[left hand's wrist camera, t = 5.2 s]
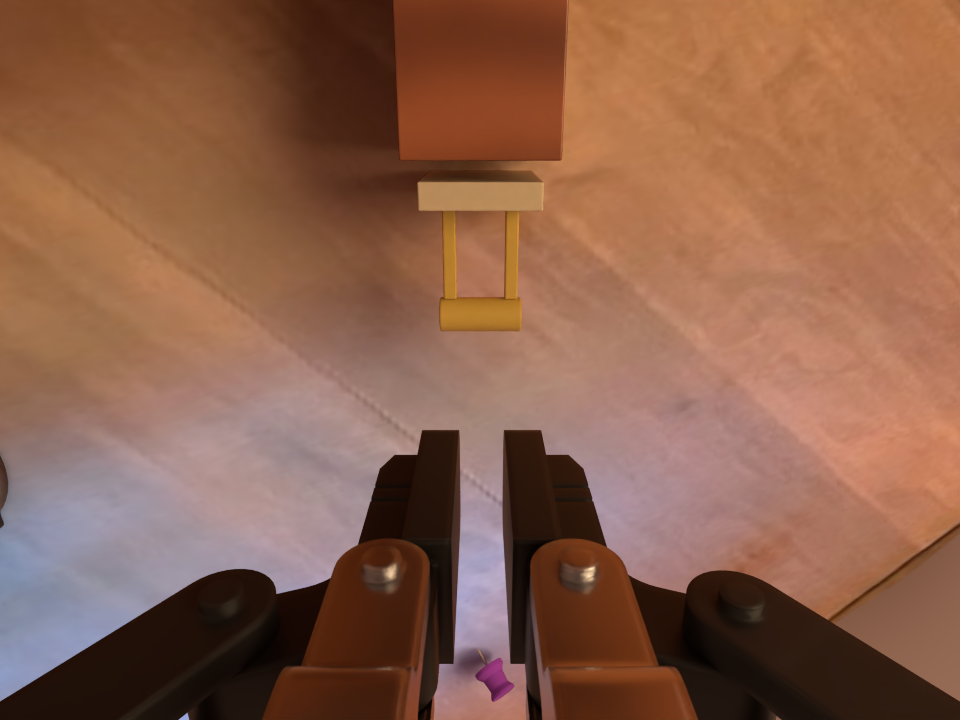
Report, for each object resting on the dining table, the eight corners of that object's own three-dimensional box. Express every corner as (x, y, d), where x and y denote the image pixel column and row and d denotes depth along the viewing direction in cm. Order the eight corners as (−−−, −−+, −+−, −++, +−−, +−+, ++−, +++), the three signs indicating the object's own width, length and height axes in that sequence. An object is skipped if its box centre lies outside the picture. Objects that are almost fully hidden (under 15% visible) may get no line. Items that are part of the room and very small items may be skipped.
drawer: (528, 306, 35) (538, 345, 29) (432, 305, 35) (422, 345, 29) (543, -239, 27) (562, -348, 21) (418, -239, 27) (399, -348, 21)
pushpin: (487, 640, 44) (487, 675, 42) (518, 661, 45) (521, 697, 42) (467, 657, 45) (466, 693, 42) (499, 678, 46) (500, 714, 43)
